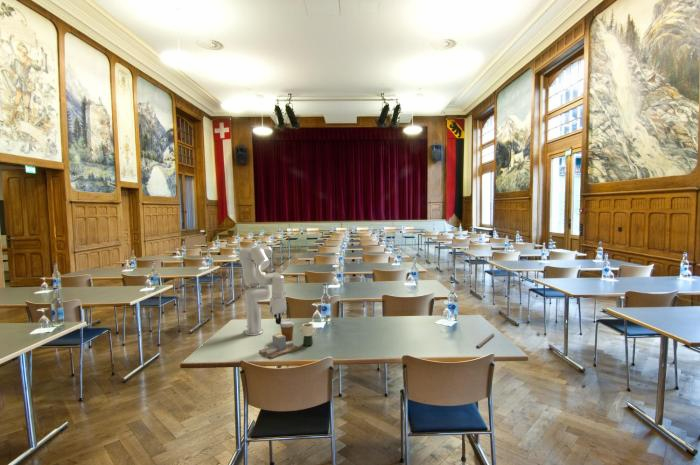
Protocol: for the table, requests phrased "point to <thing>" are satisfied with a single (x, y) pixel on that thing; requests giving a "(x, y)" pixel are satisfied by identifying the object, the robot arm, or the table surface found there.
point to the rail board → (273, 351)
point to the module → (279, 341)
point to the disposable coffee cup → (287, 329)
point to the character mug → (307, 333)
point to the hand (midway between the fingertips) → (278, 323)
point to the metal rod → (485, 340)
